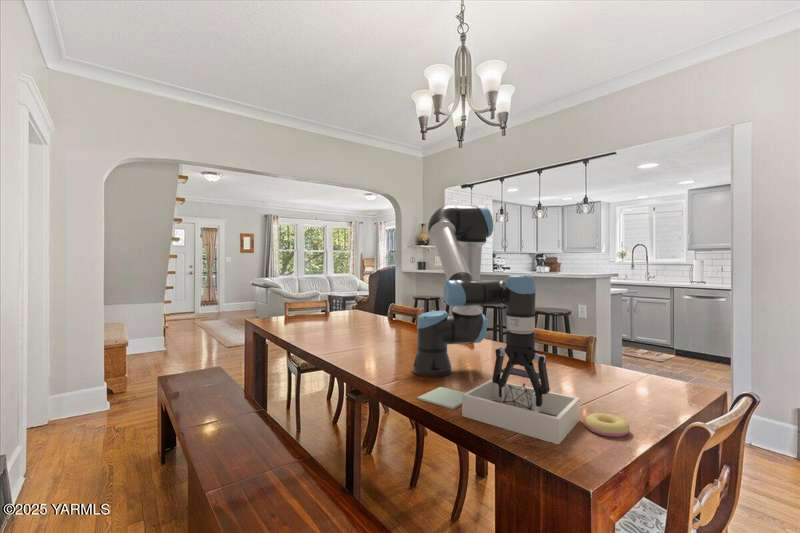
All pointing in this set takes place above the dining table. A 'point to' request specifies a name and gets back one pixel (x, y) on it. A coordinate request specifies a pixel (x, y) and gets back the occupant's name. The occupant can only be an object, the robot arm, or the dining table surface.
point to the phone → (520, 372)
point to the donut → (607, 425)
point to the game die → (519, 397)
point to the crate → (523, 412)
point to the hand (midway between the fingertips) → (519, 413)
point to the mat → (443, 397)
